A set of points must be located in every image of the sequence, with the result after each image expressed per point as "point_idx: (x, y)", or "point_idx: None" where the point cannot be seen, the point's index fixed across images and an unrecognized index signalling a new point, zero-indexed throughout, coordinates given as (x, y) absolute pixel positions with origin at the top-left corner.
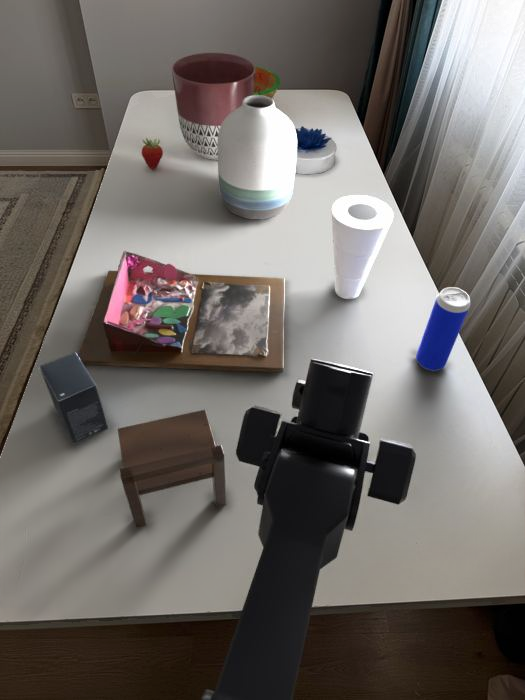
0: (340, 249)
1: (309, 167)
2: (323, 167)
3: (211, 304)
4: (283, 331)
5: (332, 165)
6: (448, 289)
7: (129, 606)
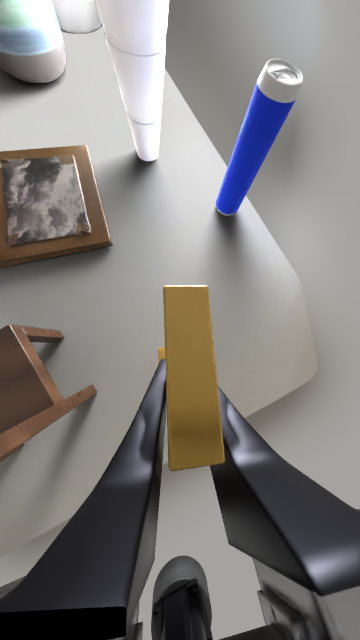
0: (116, 44)
1: (76, 15)
2: (91, 18)
3: (16, 185)
4: (100, 202)
5: (100, 20)
6: (272, 63)
7: (32, 533)
